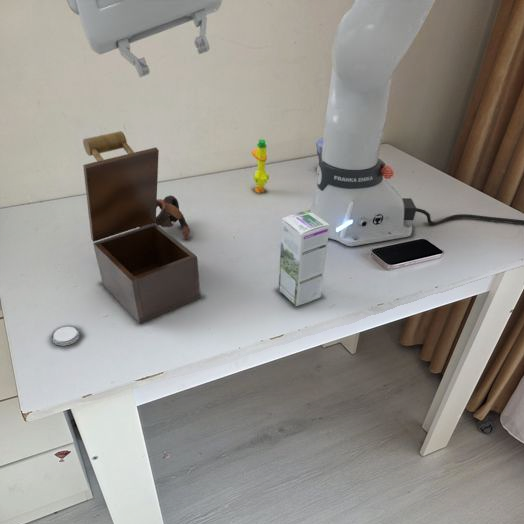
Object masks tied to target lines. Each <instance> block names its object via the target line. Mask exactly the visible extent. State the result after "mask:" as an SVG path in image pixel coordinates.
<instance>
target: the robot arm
mask: <svg viewBox="0 0 524 524" xmlns="http://www.w3.org/2000/svg"><path fill="white" fill-rule="evenodd" d="M436 1H437V0H355V1H354V2H353V4H352V6H351V8H349V9H348V11H346V12H345V14H344V15H343V16H342V18H341V19H340V22H339V24H338V27H337V30H336V33H335V37H334V41H333V44H332V49H331V63H332V67H331V69H332V70H331V74H330V75H331V76H330V84H329V93H328V98H327V106H326V112H325V120H324V121H325V122H324V129H323V130H324V131H323V138H324V139H323V148H322V154H321V155H320V157H318V165H317V168H316V191H315V194H314V197H313V201H312V205H311V208H310V211H311V212H312V213H313V214H315V215H316V216H318V217H319V218H321V219H322V220H323V221H325V222H326V223H328V224H329V225H330V227H329V236H328V239H330V240H334V241H337V242H339V243H341V244H343V245H345V246H347V247H356V246H363V245H368V244H373V243H380V242H386V241H390V240H391V241H392V240H397V239H402V238H408V237H410V236H411V235H412V233H413V223H412V222H411V221H414V220H415V216H416V213H420V214H422V215H425V216H426V219H427V223H428V224H429V225H431V226H437V225H440V224H443V223H446V222H448V221H450V220H453V219H459V218H460V219H462V218H463V219H477V220H483V221H484V220H485V221H492V222H493V221H494V222H502V223H503V222H505V223H514V224H524V219H516V218H507V217H497V216H485V215H477V214H468V213H467V214H466V213H463V214H461V213H459V214H453V215H449V216H447V217H444V218H443V219H441V220H439V221H432V218H431V217H432V216H431V214H430V213H429V212H428V211H427V210H425V209H422V208H418V207H416V205H415V202H414V200H413V199H412V198H411V197H410V198H409V197H402V195H401V194H400V193H399V191H398V190H397V189H396V188H395V187H394V186H393V185H392V184H391V183H389V181H387V180H391V179H392V178H393V177H394V175H395V174H394V173H395V172H394V170H393V168H392V167H391V166H389V165H386V163H385V162H384V161H383V160H382V159H380V158H379V155H380V152H381V151H380V150H381V146H382V141H383V135H384V131H385V124H386V121H387V120H386V118H387V111H388V105H389V97H390V91H391V85H392V79H393V75H394V74H395V72H396V70H397V68H398V67H399V65H400V63H401V62H402V60H403V59H404V56H405V55H406V53H407V52H408V51H409V49H410V47H411V46H412V44H413V42H414V40H415V38H416V36H417V35H418V34H419V31H420V29H421V28H422V26H423V24H424V23H425V21H426V18H428V15H429V14H430V12H431V10H432V8H433V6H434V4H435V3H436ZM66 2H67V4H68V7H69V9H70V10H71V11H72V12H73V13H74V14H75V15H77V16H79V19H80V23H81V27H82V29H83V32H84V35H85V37H86V41H87V43H88V45H89V47H90V49H91V51H93V52H94V53H96V54H97V55H103V54H106V53H109V52H112V51H114V50H117V49H118V51H119V53H120V55H121V57H123V59H124V60H126V61H127V62H129V64H131V65H132V66H134V67H135V71H136V72H137V74H138V77H139V78H142V77H145V76H147V75H150V68H149V65H147V61H146V58H145V57H141V58H138V56H136V55H135V54H134V53H133V52H132V51H131V44H133V43H135V42H138V41H141V40H143V39H147V38H150V37H152V36H154V35H157V34H160V33H163V32H166V31H168V30H170V29H173V28H176V27H178V26H181V25H184V24H187V23H190V22H192V21H193V23H194V26H195V28H199V35H198V36H196V37H195V39H194V46H195V48H196V49H197V53H198V55H201V54H204V53H207V52H209V50H210V43H209V41H208V39H207V35H206V34H207V22H208V19H207V16H208V15H211V14H213V13H216V12H218V11H219V10H220V8H221V5H222V2H223V0H66Z"/></svg>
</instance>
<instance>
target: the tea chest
mask: <svg viewBox="0 0 524 524" xmlns="http://www.w3.org/2000/svg"><path fill="white" fill-rule="evenodd" d="M93 248H94V249H93V250H94V253H95V257H96V261H97V265H98V269H99V273H100V277H101V283H102V285H103V286H104V287H105V288H106V289H107V290H108V291H109V293H111V294H112V295H113V297H114V298H115V299H116V300H117V302H119V303H120V304H121V305H122V307H124V308H125V309H126V311H127V312H128V313H129V314H130V315H131V316H132V317H133V318H134V319H135V320H136V321H137V322H138V323H139V324H142V323H145V322H147V321H149V320H152V319H154V318H156V317H158V316H161V315H163V314H166V313H168V312H170V311H173V310H175V309H178V308H180V307H183V306H184V305H187V304H189V303H192V302H194V301H196V300H199V299H200V298H201V289H200V288H201V287H200V273H199V264H198V263H199V262H198V256H197V255H196V254H195V253H194V252H192V251H191V250H190V249H188V248H187V247H186V246H185V245H183V244H182V243H181V242H180V241H178V239H176V238H175V237H174V236H172V235H171V234H170V233H168V231H166V230H165V229H163V227H161V226H160V225H159V226H158V225H157V224H156V223H153V224H150V225H147V226H144V227H141V228H139V227H138V228H135V229H132V230H129V231H126V232H123V233H119V234H116V235H113V236H110V237H107V238H104V239H101V240H98V241H95V242H93Z"/></svg>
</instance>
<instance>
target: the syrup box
mask: <svg viewBox="0 0 524 524" xmlns="http://www.w3.org/2000/svg"><path fill="white" fill-rule="evenodd" d="M329 227H330V225H329V224H328V223H326V222H325V221H323V220H322V219H321V218H319V217H318V216H316V215H315V214H313V213H312V212H311V210H304V211H299V212H295V213H293V214H290V215H287V216H285V217H282V219H281V231H280V232H281V233H280V234H281V235H280V250H279V251H280V255H279V271H278V273H279V274H278V291H279V292H280V294H282V295H283V296H284V297H285V298H286V299H287V300H288V301H289V302H290V303H292V304H293V305H294V306H295V307H299V306H303V305H305V304H307V303H310V302H312V301H315V300H318V299H319V298H321V297H322V289H323V282H324V275H325V266H326V257H327V251H328V245H329V243H328V242H329V238H328V236H329Z"/></svg>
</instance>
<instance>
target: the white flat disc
mask: <svg viewBox="0 0 524 524" xmlns="http://www.w3.org/2000/svg"><path fill="white" fill-rule="evenodd" d="M79 338H80V331H79V329H78V328H77V327H75V326H74V325H73V326H72V325H65V326H64V325H63V326H61V327H58V328H57V329H55V330H54V331H53V332H52V334H51V339H52V342H53V343H54V344H55V345H56V346H57V345H58V346H69V345H72V344H74V343H76V342H77V341H78V340H79Z"/></svg>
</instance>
